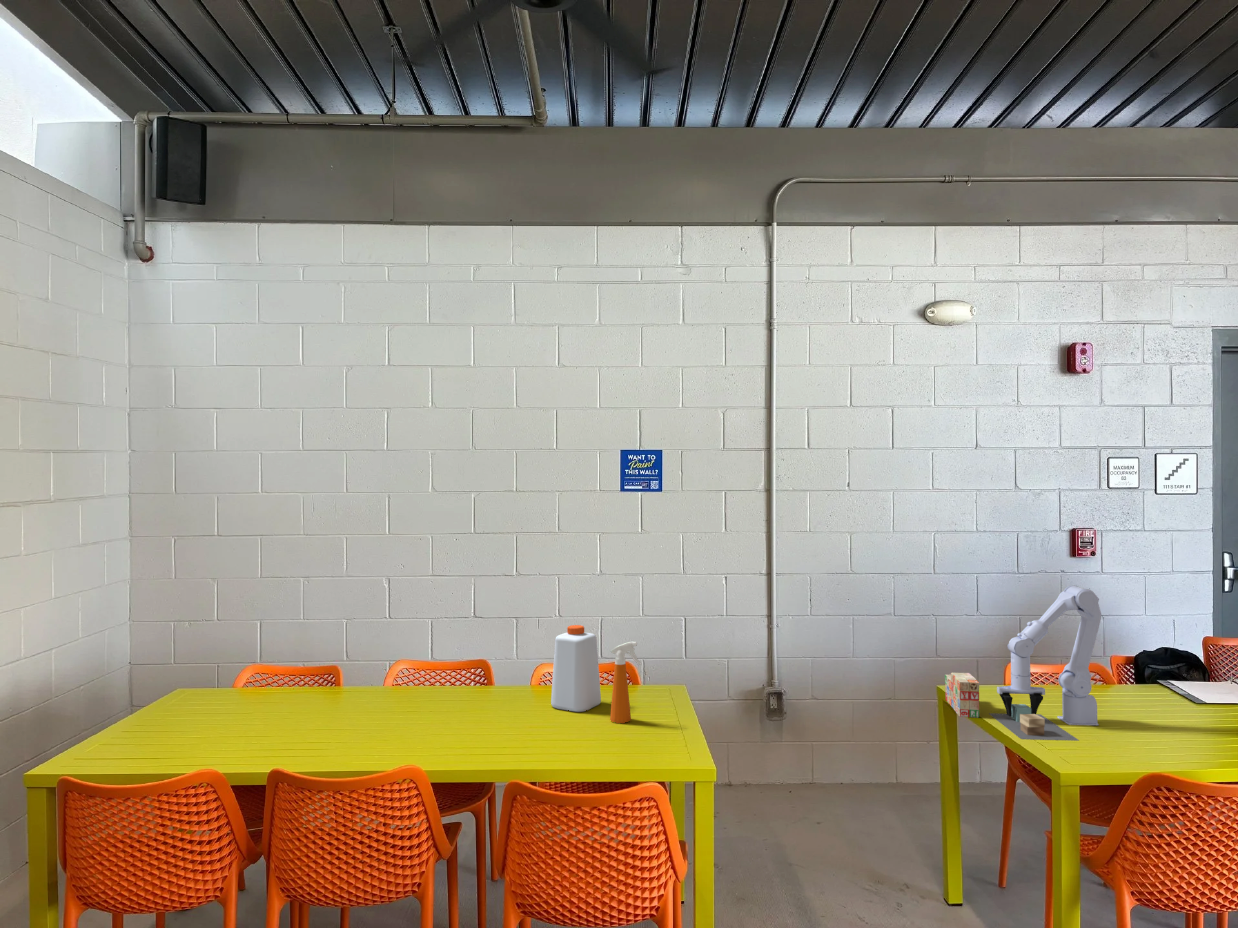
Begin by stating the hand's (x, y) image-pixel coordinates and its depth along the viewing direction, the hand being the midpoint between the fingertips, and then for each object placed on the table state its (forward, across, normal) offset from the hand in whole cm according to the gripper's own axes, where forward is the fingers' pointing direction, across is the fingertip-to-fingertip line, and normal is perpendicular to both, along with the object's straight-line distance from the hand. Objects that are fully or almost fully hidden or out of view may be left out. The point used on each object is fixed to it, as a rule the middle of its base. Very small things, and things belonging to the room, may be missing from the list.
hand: (1021, 715), depth 258 cm
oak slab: (-1, +2, +13) cm, 13 cm away
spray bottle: (+2, +130, +9) cm, 130 cm away
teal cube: (+1, 0, 0) cm, 1 cm away
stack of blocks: (+2, +15, -12) cm, 19 cm away
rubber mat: (+2, 0, +6) cm, 7 cm away
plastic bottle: (+2, +149, -7) cm, 149 cm away
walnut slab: (+1, +2, +13) cm, 13 cm away
